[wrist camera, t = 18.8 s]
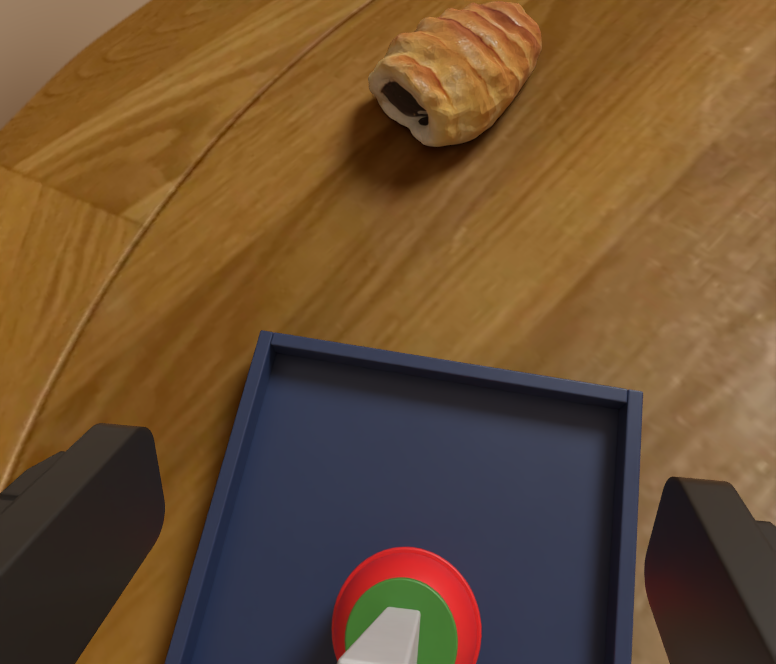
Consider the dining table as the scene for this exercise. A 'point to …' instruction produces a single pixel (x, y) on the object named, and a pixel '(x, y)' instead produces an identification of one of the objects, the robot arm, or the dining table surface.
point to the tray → (417, 504)
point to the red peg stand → (406, 612)
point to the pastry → (457, 71)
